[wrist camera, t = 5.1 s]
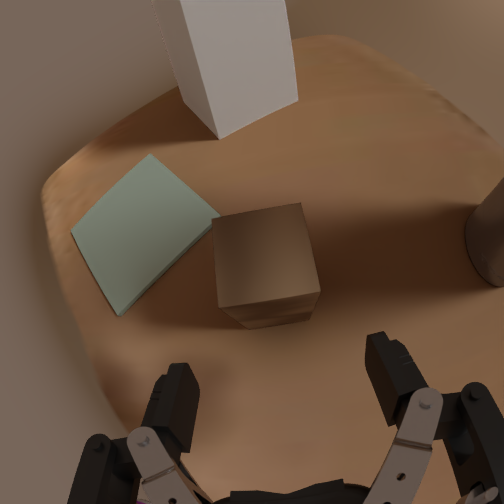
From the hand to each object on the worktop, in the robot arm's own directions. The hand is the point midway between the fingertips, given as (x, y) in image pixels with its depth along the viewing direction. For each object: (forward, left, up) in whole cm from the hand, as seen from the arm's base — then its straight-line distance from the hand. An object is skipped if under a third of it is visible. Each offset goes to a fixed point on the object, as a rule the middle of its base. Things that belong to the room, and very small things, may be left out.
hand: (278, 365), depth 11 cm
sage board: (+2, -21, -11) cm, 23 cm away
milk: (-19, -27, -11) cm, 35 cm away
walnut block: (-3, -5, -11) cm, 12 cm away
